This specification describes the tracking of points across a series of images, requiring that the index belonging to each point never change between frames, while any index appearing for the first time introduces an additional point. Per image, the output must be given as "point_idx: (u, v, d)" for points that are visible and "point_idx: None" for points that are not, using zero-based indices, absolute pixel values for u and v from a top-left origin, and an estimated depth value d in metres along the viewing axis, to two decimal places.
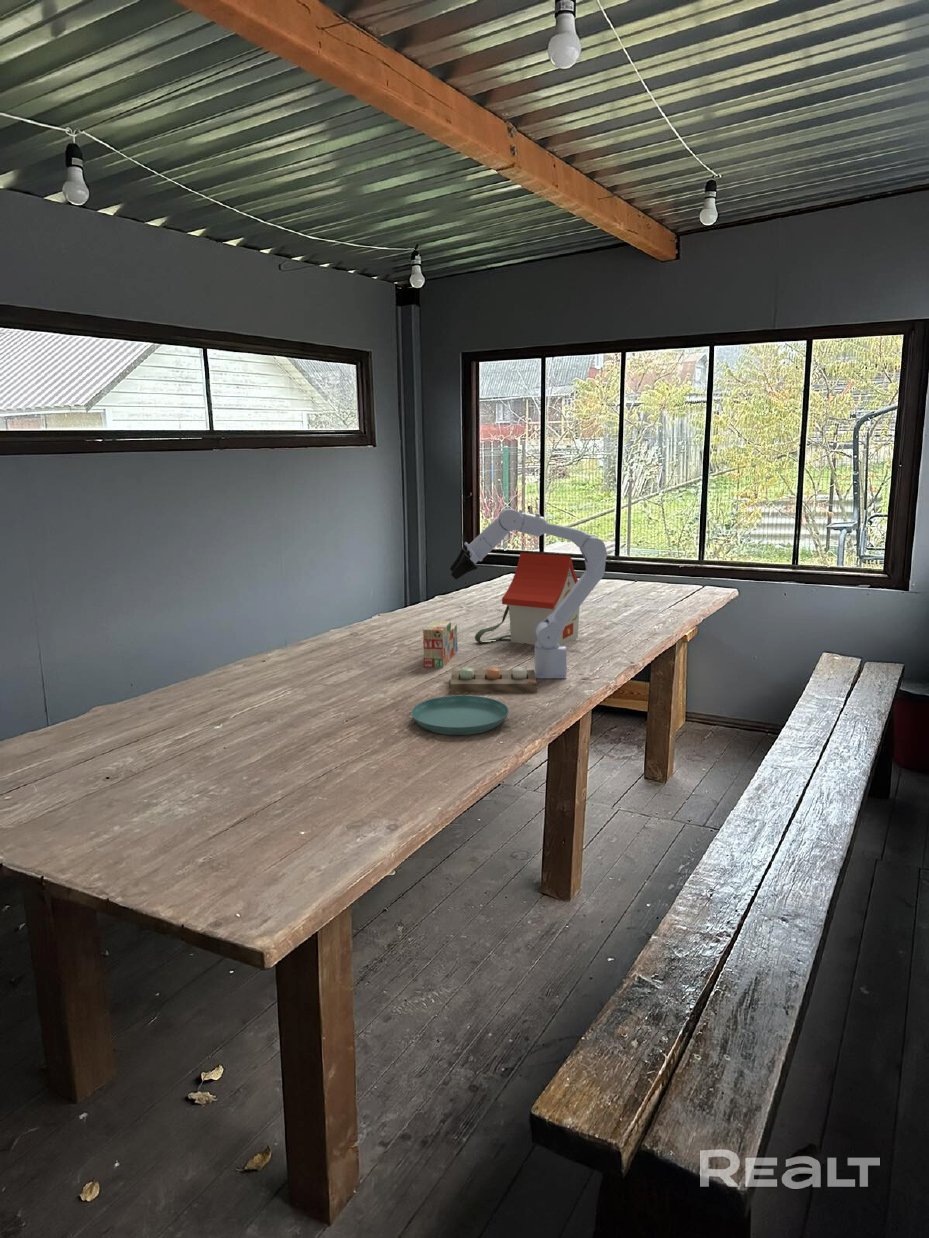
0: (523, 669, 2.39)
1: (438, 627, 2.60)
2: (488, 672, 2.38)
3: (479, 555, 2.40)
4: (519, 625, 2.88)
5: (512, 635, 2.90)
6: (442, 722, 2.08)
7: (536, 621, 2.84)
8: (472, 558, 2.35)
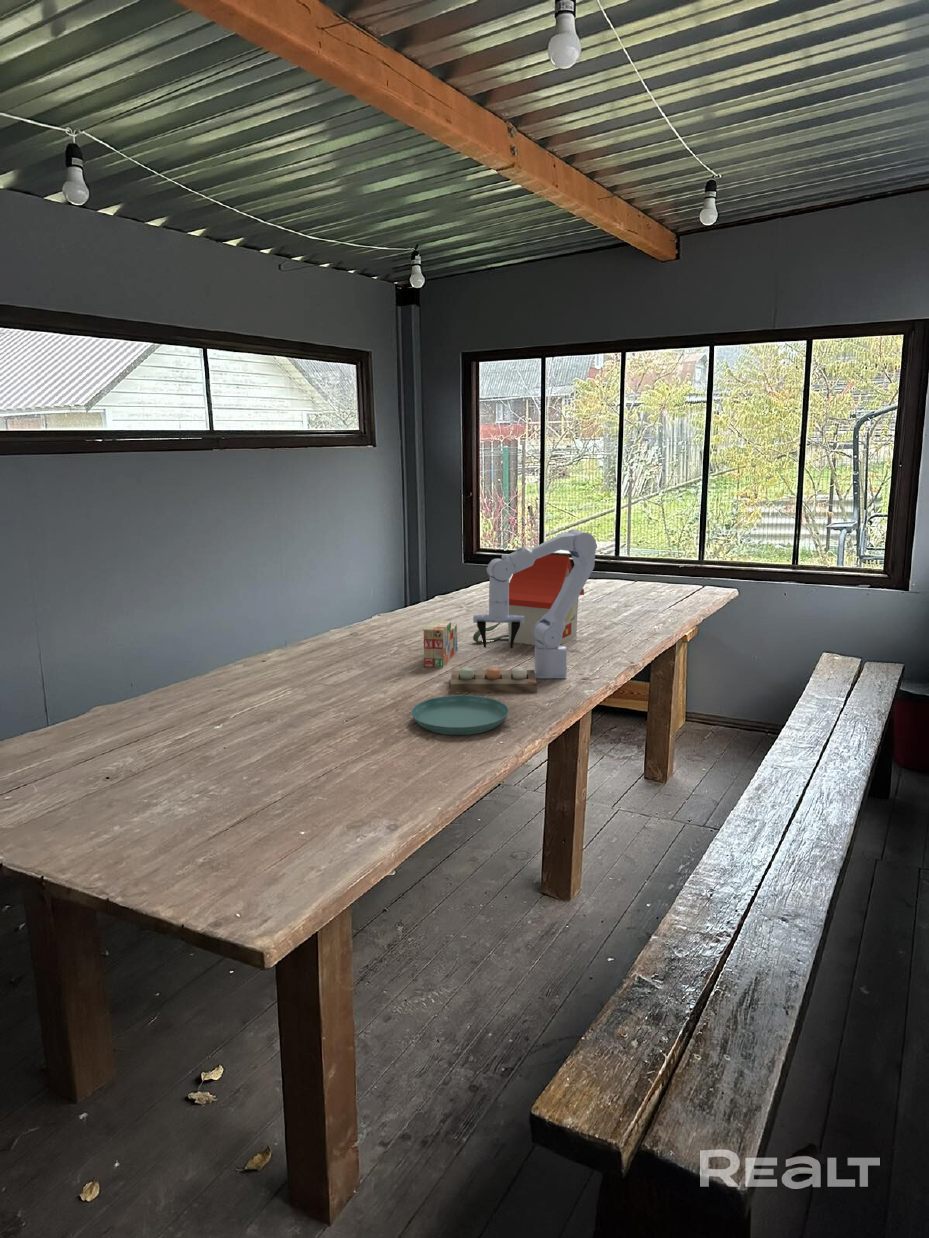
0: (523, 669, 2.39)
1: (438, 627, 2.60)
2: (488, 672, 2.38)
3: None
4: None
5: (510, 635, 2.90)
6: (442, 722, 2.08)
7: (534, 621, 2.84)
8: (523, 621, 2.41)
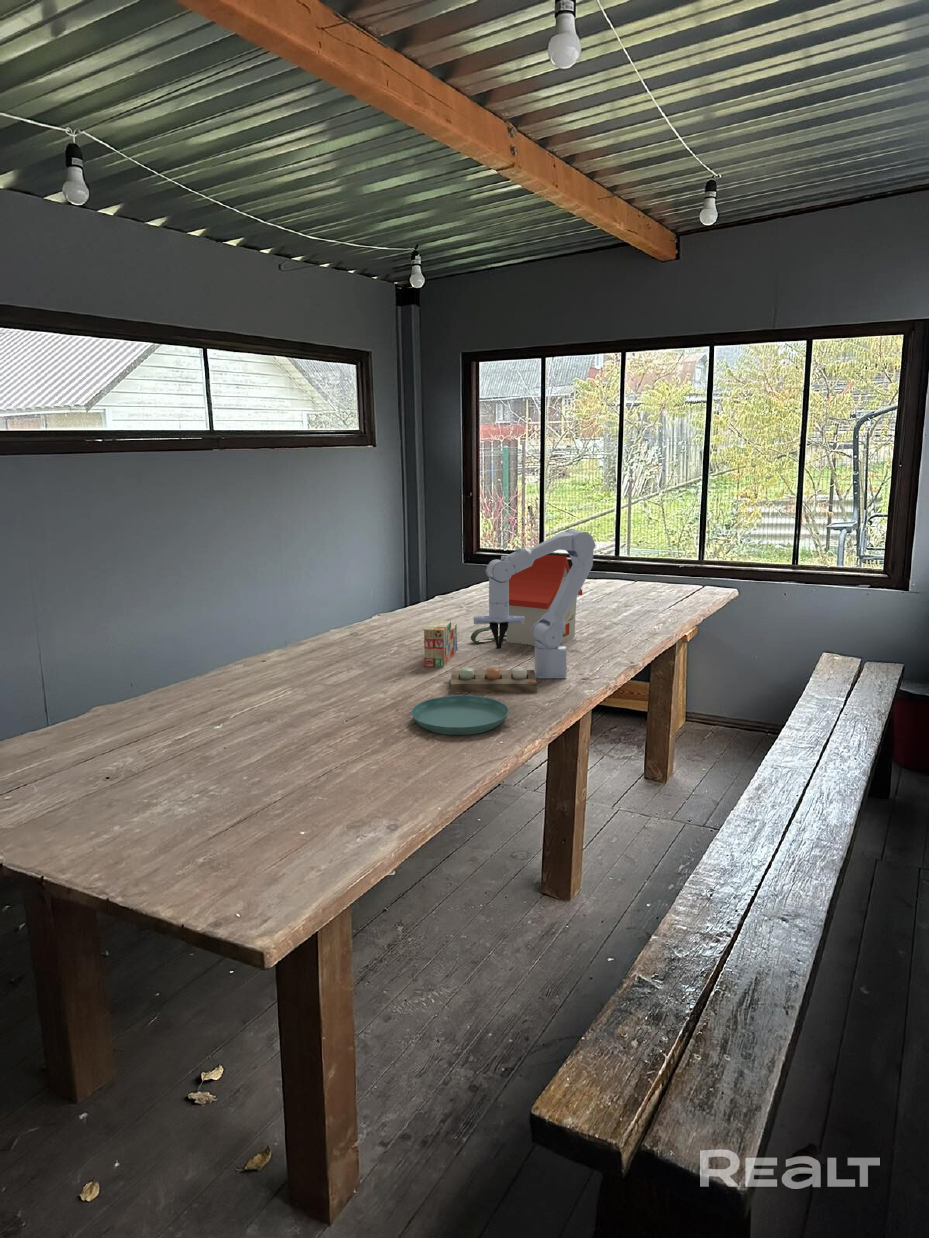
0: (523, 669, 2.39)
1: (439, 627, 2.60)
2: (488, 672, 2.38)
3: None
4: (514, 625, 2.88)
5: (508, 635, 2.90)
6: (442, 722, 2.08)
7: (532, 621, 2.84)
8: None
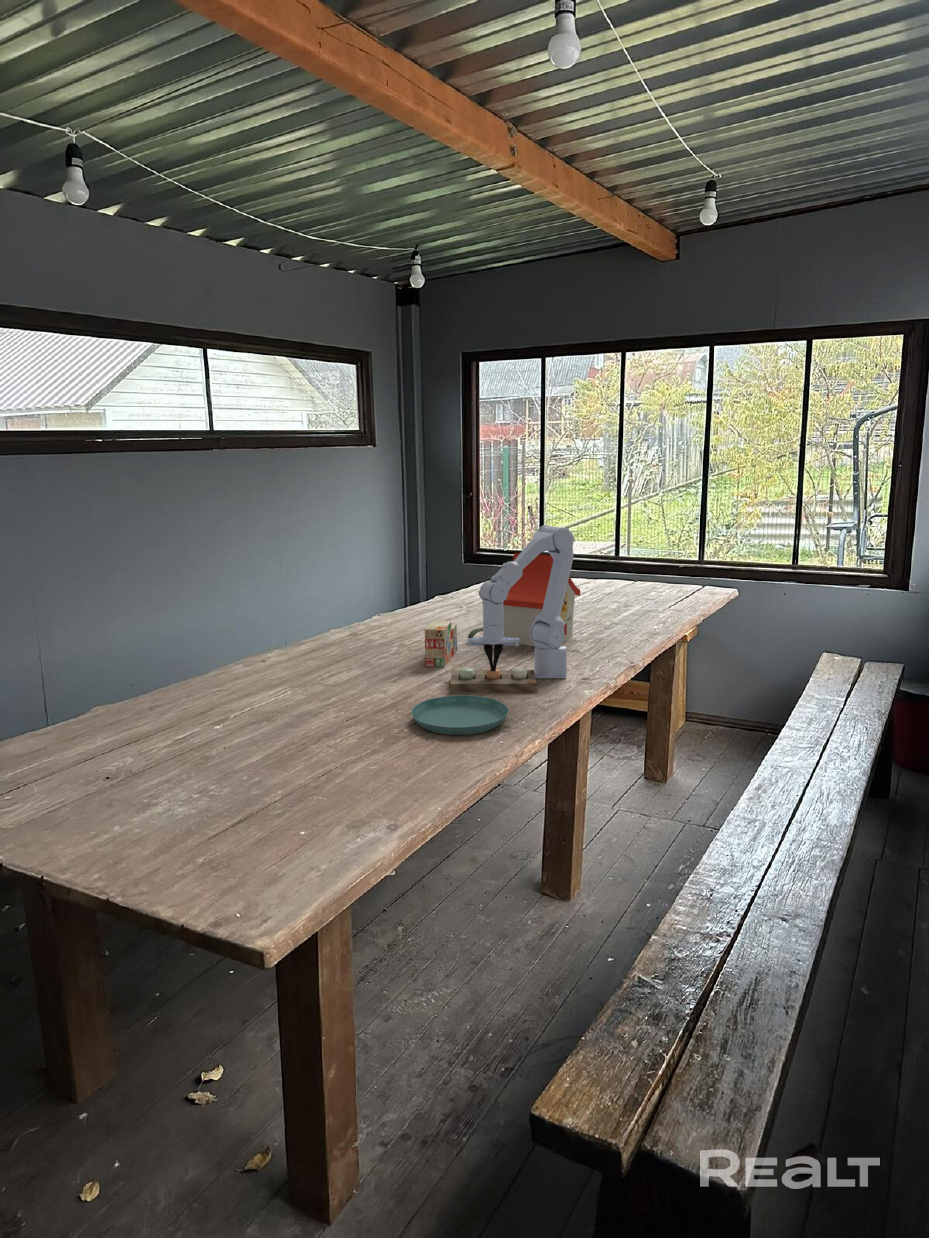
0: (523, 669, 2.39)
1: (439, 627, 2.60)
2: (488, 673, 2.38)
3: None
4: (511, 625, 2.88)
5: (505, 635, 2.90)
6: (442, 722, 2.08)
7: (528, 621, 2.84)
8: (518, 643, 2.37)
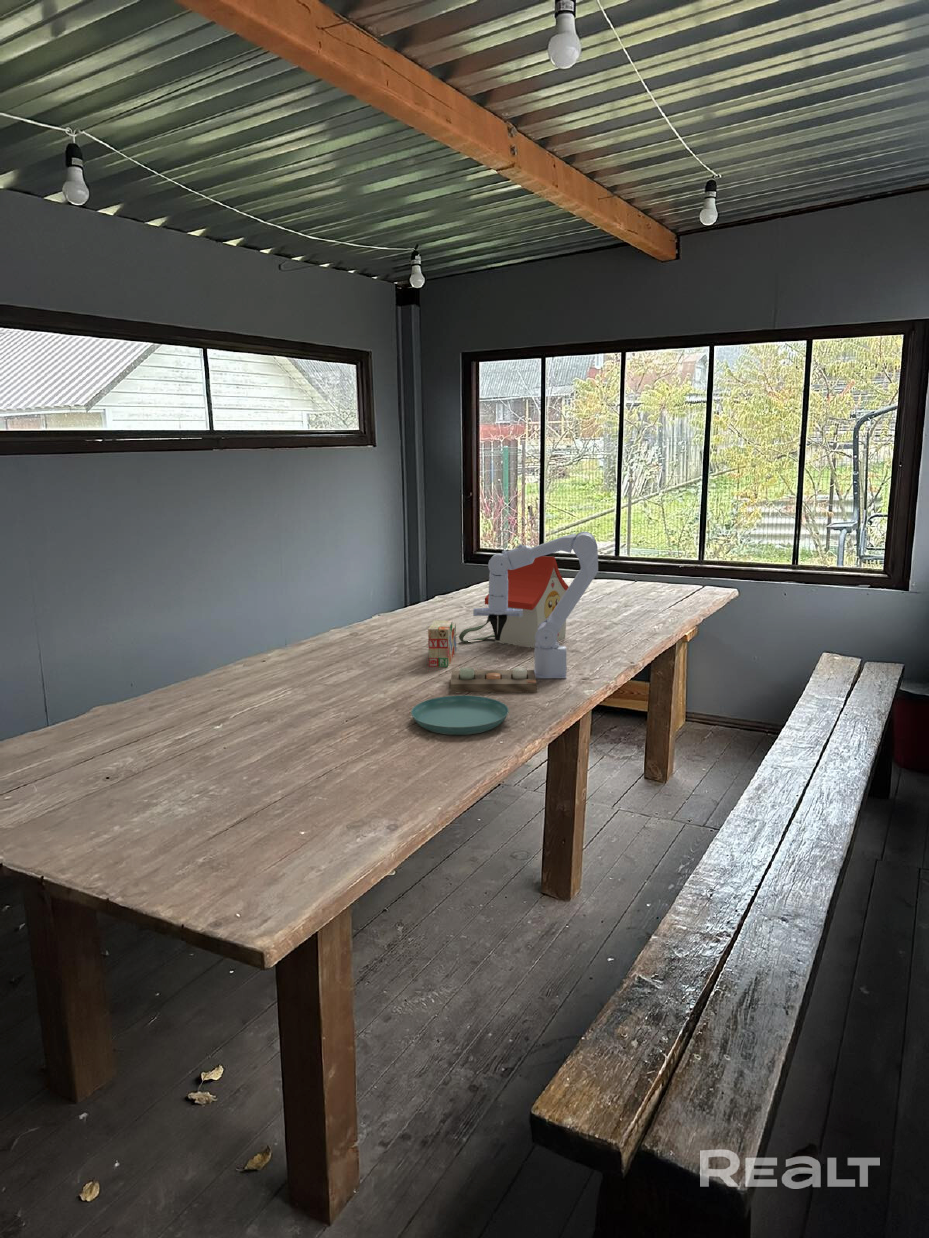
0: (523, 669, 2.39)
1: (442, 626, 2.61)
2: (488, 677, 2.38)
3: None
4: None
5: None
6: (442, 722, 2.08)
7: (519, 622, 2.83)
8: (522, 614, 2.47)
